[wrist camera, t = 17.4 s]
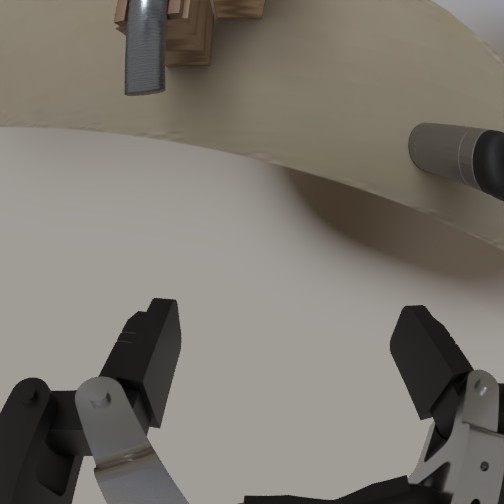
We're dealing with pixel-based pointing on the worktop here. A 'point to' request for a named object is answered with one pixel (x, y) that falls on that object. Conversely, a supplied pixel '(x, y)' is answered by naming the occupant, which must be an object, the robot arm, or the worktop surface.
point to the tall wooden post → (181, 30)
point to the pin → (145, 47)
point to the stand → (239, 8)
